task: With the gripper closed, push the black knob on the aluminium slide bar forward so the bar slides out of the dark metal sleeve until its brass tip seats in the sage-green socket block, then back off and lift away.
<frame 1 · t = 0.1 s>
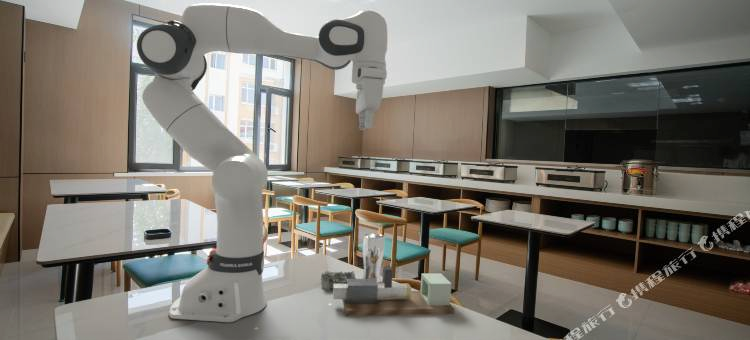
hand: (365, 128, 97), 48 cm above the table, tool pointing down, fingers open, 8 cm apart
base board: (396, 305, 100), on the table
sleeve: (361, 291, 99), on the base board, point 4 cm above the table
slip tube: (372, 282, 99), point 6 cm above the table, slide at 0.0 cm
socket: (434, 304, 102), resting on base board
beer glass: (371, 281, 118), on the table
egg carton: (337, 286, 113), on the table
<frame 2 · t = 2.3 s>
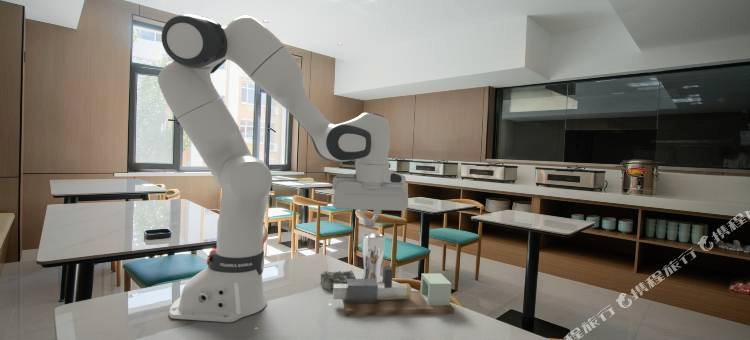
hand: (369, 226, 98), 22 cm above the table, tool pointing down, fingers closed
nothing on the table moved.
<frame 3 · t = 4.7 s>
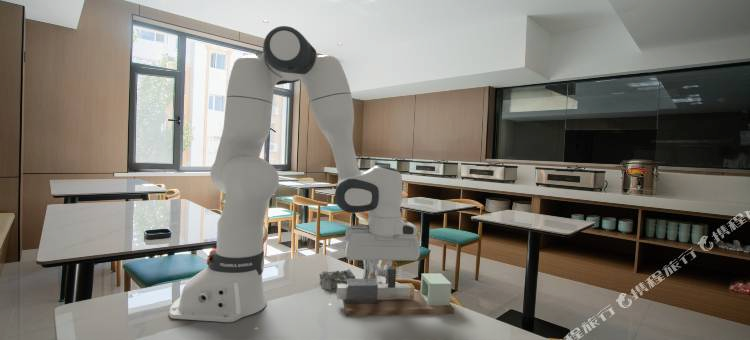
hand: (381, 275, 99), 8 cm above the table, tool pointing down, fingers closed
slip tube: (376, 282, 99), point 6 cm above the table, slide at 1.0 cm, touching gripper
everything else where it was.
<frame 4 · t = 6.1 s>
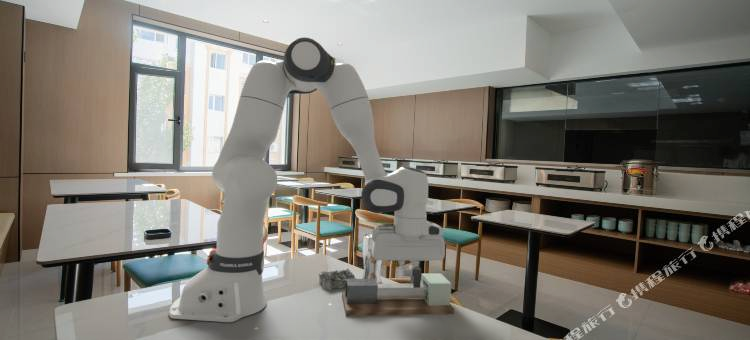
hand: (406, 275, 101), 8 cm above the table, tool pointing down, fingers closed
slip tube: (401, 282, 100), point 6 cm above the table, slide at 8.1 cm, touching gripper
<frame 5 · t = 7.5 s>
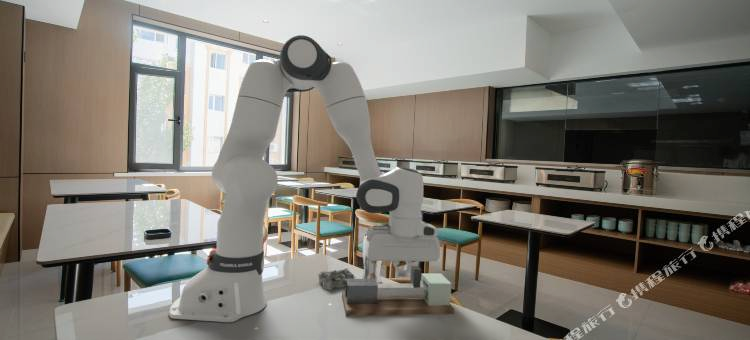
hand: (401, 276, 100), 8 cm above the table, tool pointing down, fingers closed
slip tube: (401, 282, 100), point 6 cm above the table, slide at 8.0 cm
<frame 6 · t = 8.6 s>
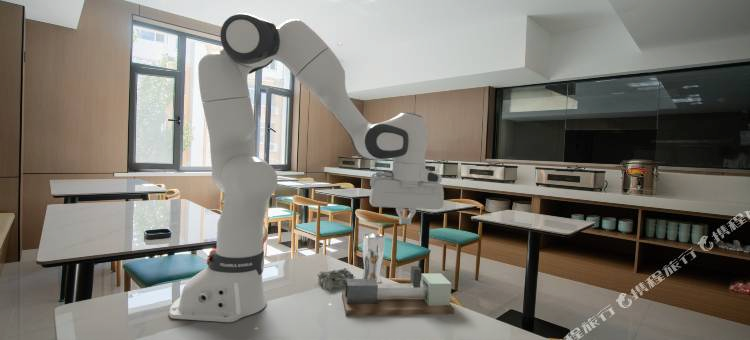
hand: (404, 224, 99), 23 cm above the table, tool pointing down, fingers closed
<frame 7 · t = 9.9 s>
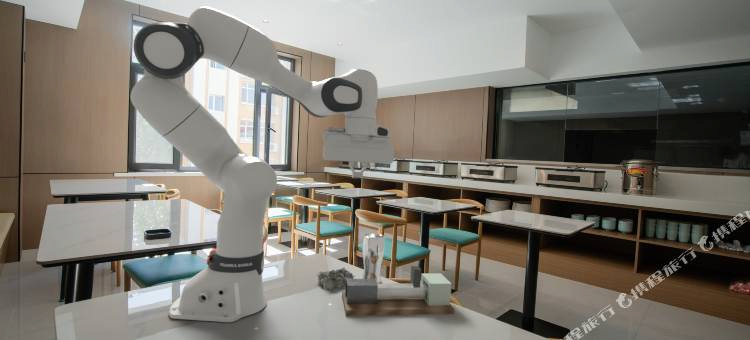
hand: (357, 178, 103), 34 cm above the table, tool pointing down, fingers closed
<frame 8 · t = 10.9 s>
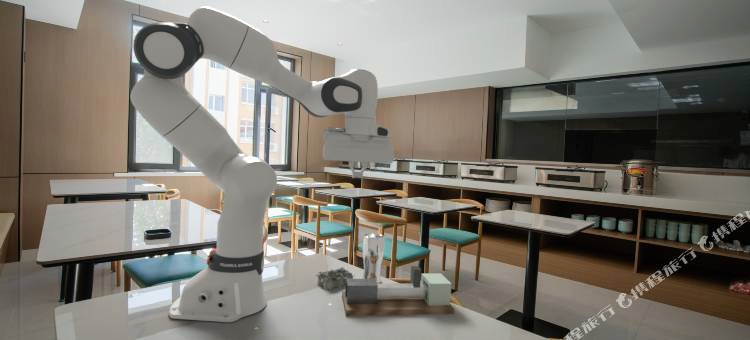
hand: (357, 178, 103), 34 cm above the table, tool pointing down, fingers closed
at the end: slip tube slide at 8.0 cm; the gripper is holding nothing; beer glass moved 0.2 cm from its start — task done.
